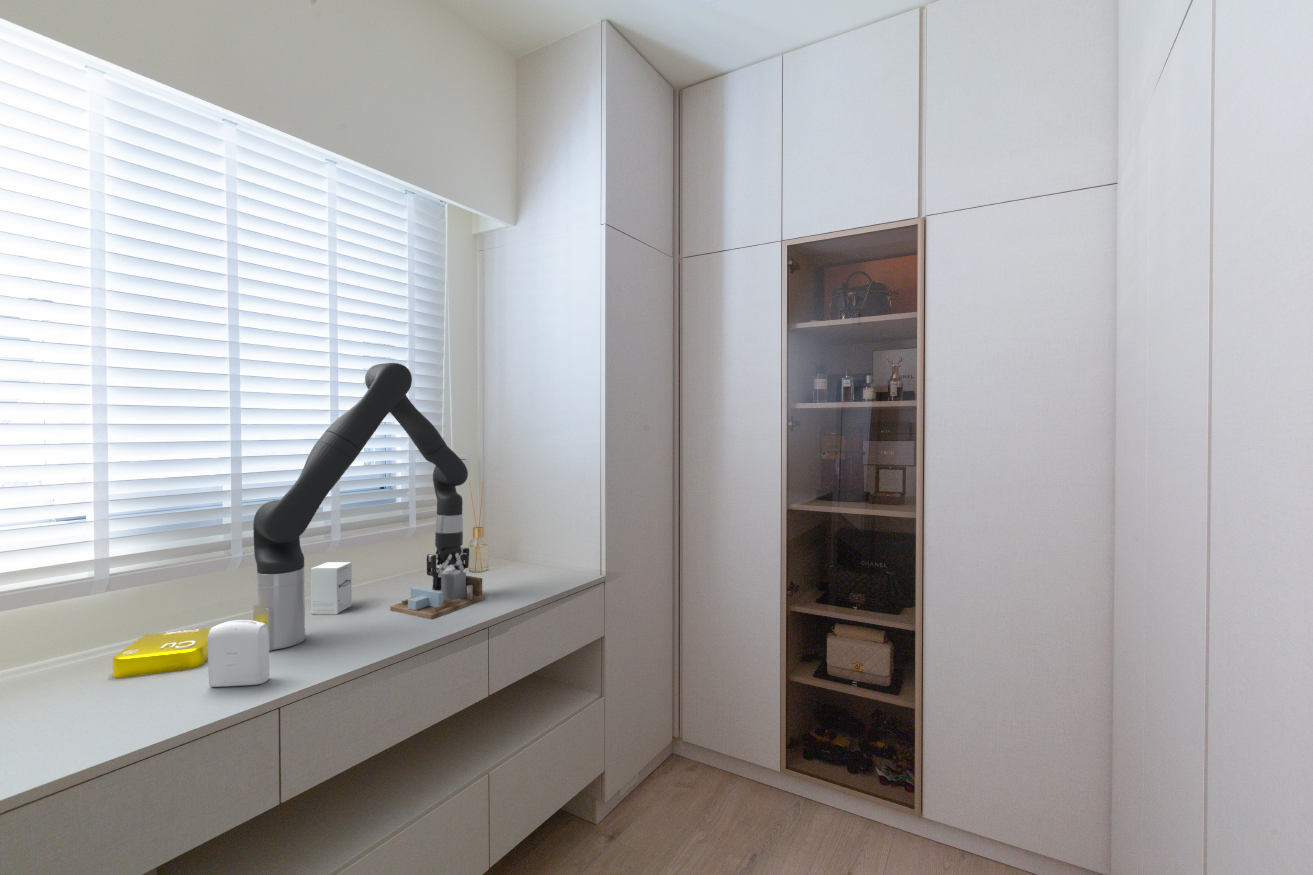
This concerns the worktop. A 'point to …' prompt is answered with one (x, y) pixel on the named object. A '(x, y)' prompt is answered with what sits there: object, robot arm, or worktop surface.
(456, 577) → the block
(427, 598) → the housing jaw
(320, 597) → the supplement box
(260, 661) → the photo printer
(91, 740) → the worktop surface
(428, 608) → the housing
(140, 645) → the element tile
